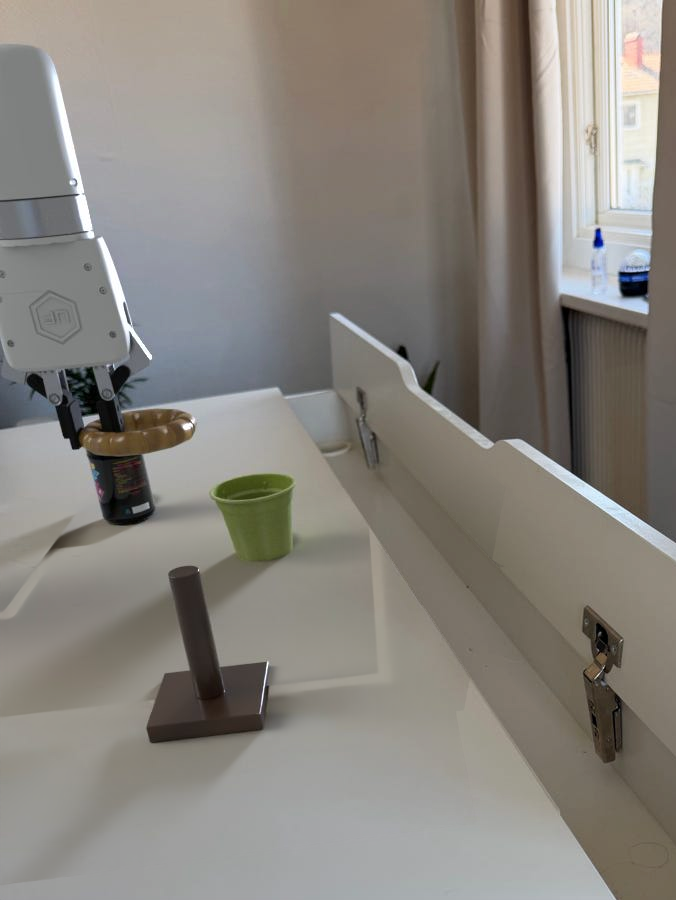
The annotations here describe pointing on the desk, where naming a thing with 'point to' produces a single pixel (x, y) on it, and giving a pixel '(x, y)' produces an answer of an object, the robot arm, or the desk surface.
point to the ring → (140, 433)
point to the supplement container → (122, 487)
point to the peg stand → (205, 677)
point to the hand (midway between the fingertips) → (96, 442)
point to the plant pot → (257, 514)
